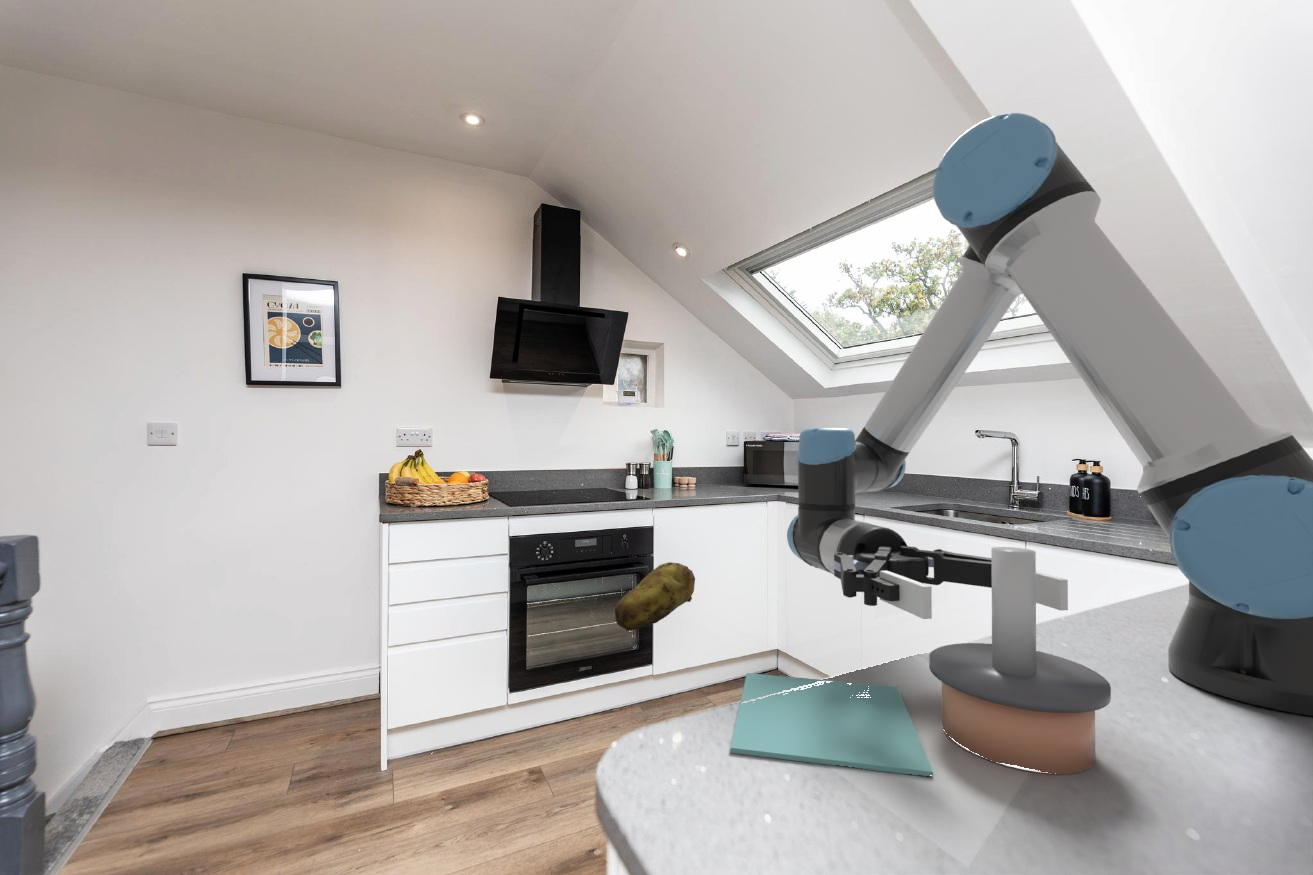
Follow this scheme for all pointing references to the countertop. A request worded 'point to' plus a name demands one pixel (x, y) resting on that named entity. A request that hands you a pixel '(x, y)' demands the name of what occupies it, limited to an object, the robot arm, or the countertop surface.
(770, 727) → the mat
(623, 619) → the potato
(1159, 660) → the countertop surface
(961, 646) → the lid
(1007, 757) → the orange bowl
